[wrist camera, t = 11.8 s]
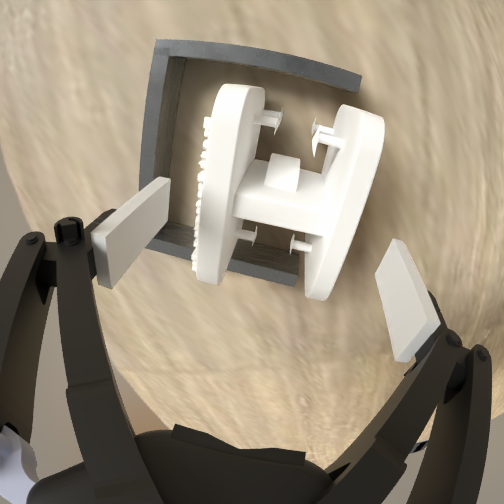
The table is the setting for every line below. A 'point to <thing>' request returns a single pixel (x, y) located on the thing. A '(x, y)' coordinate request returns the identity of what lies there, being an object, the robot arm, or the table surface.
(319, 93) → the table surface
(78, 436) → the robot arm
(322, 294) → the cable organizer
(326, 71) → the bracket
